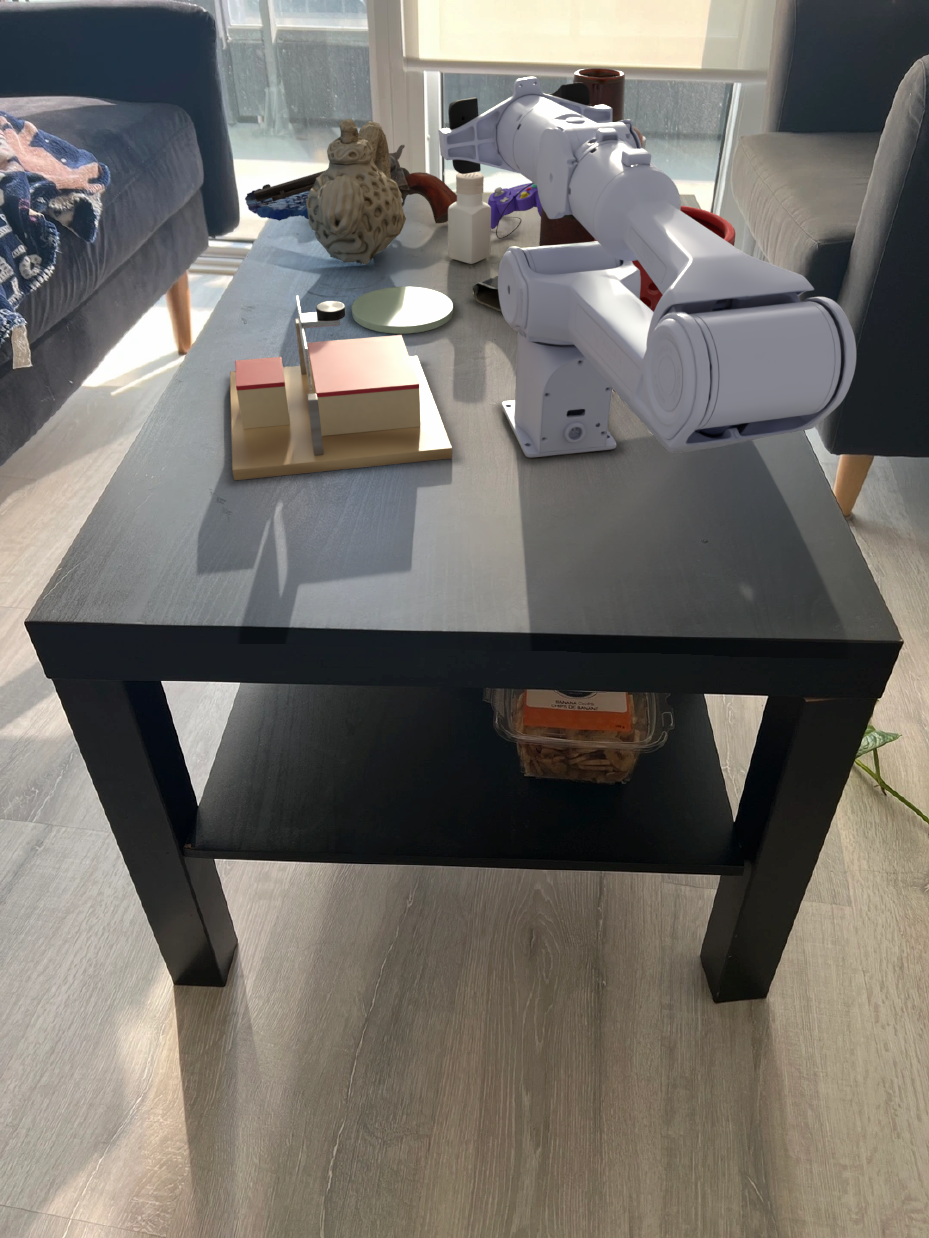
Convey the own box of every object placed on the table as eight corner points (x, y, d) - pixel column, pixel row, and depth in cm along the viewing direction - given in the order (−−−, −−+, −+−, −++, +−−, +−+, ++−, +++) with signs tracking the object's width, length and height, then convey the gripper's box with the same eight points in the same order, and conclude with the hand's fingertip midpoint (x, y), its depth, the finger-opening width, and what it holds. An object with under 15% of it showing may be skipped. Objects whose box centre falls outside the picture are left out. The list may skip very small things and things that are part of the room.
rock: (334, 169, 135) (336, 183, 136) (232, 194, 127) (234, 209, 128) (396, 189, 126) (397, 204, 128) (290, 218, 118) (292, 234, 119)
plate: (462, 329, 98) (462, 322, 97) (358, 337, 96) (357, 330, 96) (443, 290, 106) (443, 283, 106) (347, 297, 104) (346, 290, 104)
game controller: (467, 210, 116) (486, 171, 122) (488, 268, 122) (505, 228, 128) (542, 192, 112) (558, 153, 118) (560, 254, 118) (574, 213, 123)
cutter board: (452, 458, 78) (452, 393, 74) (234, 480, 75) (222, 413, 71) (417, 365, 91) (415, 305, 87) (231, 381, 89) (221, 320, 85)
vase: (644, 275, 110) (670, 79, 97) (562, 287, 107) (577, 87, 94) (601, 245, 117) (619, 60, 104) (523, 256, 114) (532, 67, 101)
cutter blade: (356, 387, 76) (352, 332, 73) (309, 391, 75) (303, 336, 72) (342, 332, 84) (338, 280, 81) (300, 335, 83) (294, 284, 80)
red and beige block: (420, 427, 80) (419, 384, 77) (320, 436, 79) (315, 393, 76) (403, 375, 87) (401, 334, 85) (311, 383, 86) (306, 342, 83)
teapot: (384, 290, 105) (377, 146, 96) (287, 283, 107) (269, 140, 97) (424, 229, 121) (421, 100, 111) (338, 223, 123) (328, 95, 113)
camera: (503, 288, 107) (504, 250, 104) (568, 316, 101) (571, 277, 98) (470, 299, 104) (470, 261, 101) (535, 328, 98) (537, 289, 95)
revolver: (469, 220, 125) (440, 141, 126) (470, 203, 121) (440, 123, 122) (282, 277, 123) (255, 197, 124) (277, 262, 119) (249, 180, 121)
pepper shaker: (471, 266, 112) (472, 182, 106) (446, 259, 114) (445, 176, 107) (492, 257, 114) (494, 174, 108) (466, 250, 116) (467, 168, 110)
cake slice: (290, 425, 80) (284, 382, 78) (243, 429, 80) (235, 386, 77) (286, 398, 84) (281, 356, 81) (241, 402, 83) (234, 360, 81)
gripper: (634, 74, 72) (573, 53, 82) (453, 100, 69) (414, 75, 80) (632, 172, 76) (574, 140, 86) (461, 200, 74) (423, 164, 84)
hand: (498, 115), depth 84 cm, fingers open, 7 cm apart
